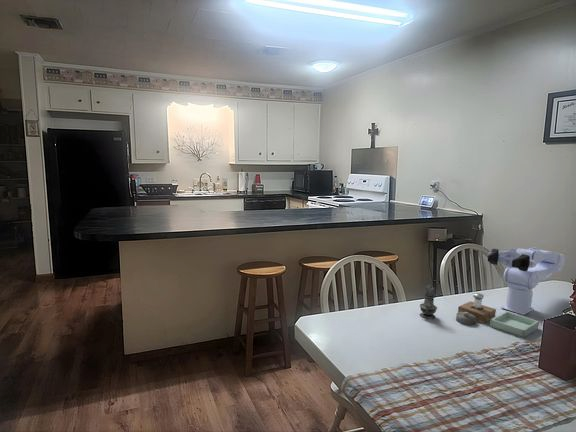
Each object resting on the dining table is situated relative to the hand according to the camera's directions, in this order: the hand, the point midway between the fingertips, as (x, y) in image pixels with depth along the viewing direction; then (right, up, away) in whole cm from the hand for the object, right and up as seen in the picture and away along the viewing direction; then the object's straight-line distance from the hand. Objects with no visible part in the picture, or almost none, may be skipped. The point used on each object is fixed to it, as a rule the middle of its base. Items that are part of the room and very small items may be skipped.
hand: (500, 260), depth 125 cm
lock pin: (-4, -21, +8) cm, 22 cm away
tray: (+4, -22, -1) cm, 23 cm away
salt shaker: (-22, -21, +6) cm, 31 cm away
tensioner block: (-7, -21, +6) cm, 23 cm away
